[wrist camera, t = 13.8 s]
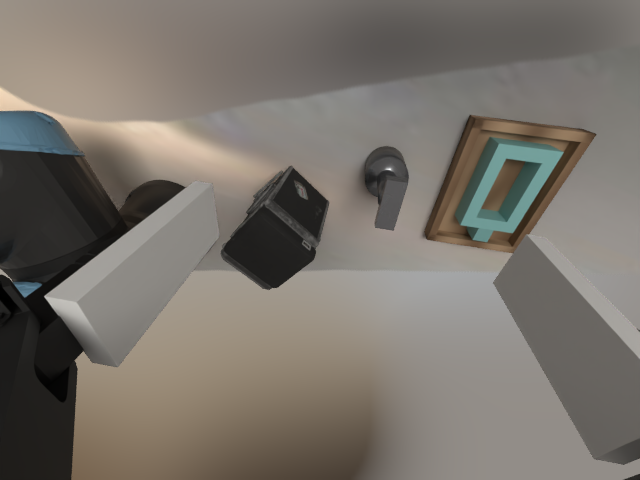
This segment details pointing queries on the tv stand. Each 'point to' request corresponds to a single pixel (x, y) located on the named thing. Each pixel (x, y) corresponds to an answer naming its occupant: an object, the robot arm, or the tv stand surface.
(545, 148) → the teal rectangular frame
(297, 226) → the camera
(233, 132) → the tv stand surface
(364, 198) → the tv stand surface
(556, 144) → the tray
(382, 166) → the mallet
